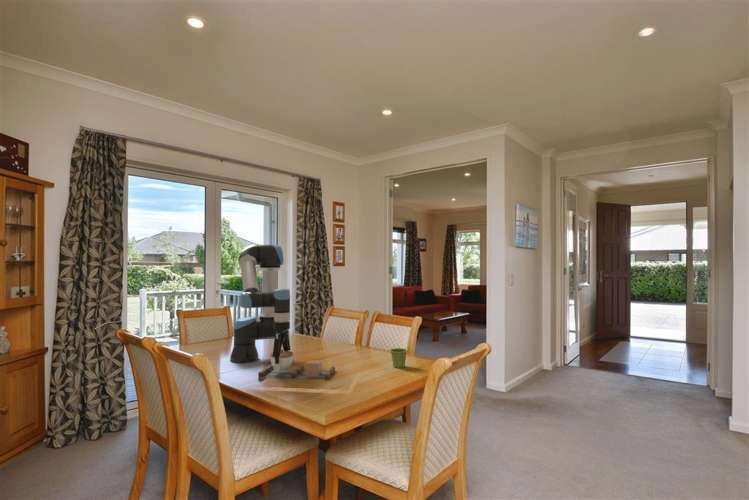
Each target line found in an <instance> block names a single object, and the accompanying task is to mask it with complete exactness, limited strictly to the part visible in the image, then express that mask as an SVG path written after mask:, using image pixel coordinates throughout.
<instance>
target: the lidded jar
mask: <svg viewBox="0 0 749 500" xmlns="http://www.w3.org/2000/svg"><path fill="white" fill-rule="evenodd" d="M276 354H277V353H276ZM269 355H270V363H271V364H270V365H272V366H273V369H274V368H275V357H273V356H272V355H273V351H272V352H271V353H270V354H269ZM280 356H281V370H280V371H285V370H288V369H290V368H291V366H292V364H293V359H294V352H293V351H291V350H290V351H284V350H283V349H281V352H280Z"/></svg>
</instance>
